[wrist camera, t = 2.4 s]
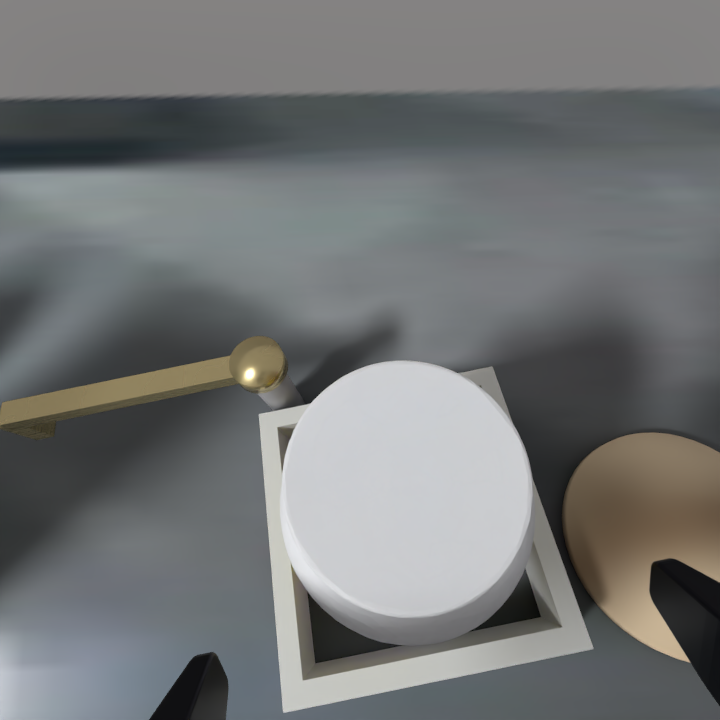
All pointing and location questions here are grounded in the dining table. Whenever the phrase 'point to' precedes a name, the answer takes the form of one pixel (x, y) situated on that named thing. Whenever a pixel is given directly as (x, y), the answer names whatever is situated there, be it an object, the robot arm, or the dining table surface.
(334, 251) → the dining table surface
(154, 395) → the brass lever handle
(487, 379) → the socket collar
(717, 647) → the robot arm
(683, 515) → the coaster
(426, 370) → the supplement bottle
